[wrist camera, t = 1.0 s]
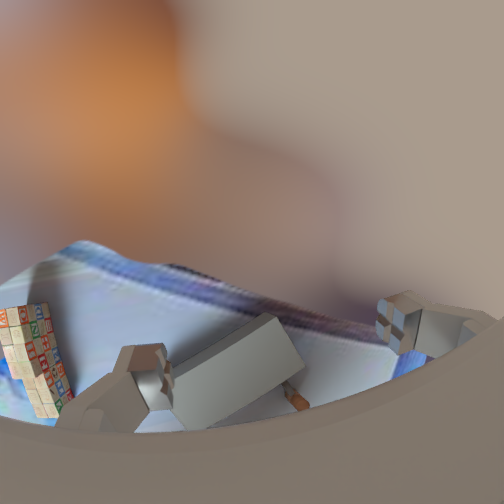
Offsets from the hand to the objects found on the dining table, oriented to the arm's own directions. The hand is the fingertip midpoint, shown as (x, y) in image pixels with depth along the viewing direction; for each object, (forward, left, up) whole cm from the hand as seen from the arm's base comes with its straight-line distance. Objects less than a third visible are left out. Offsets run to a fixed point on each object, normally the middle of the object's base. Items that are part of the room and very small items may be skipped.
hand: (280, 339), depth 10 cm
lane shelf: (-15, +5, -43) cm, 46 cm away
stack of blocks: (+5, +36, -43) cm, 57 cm away
